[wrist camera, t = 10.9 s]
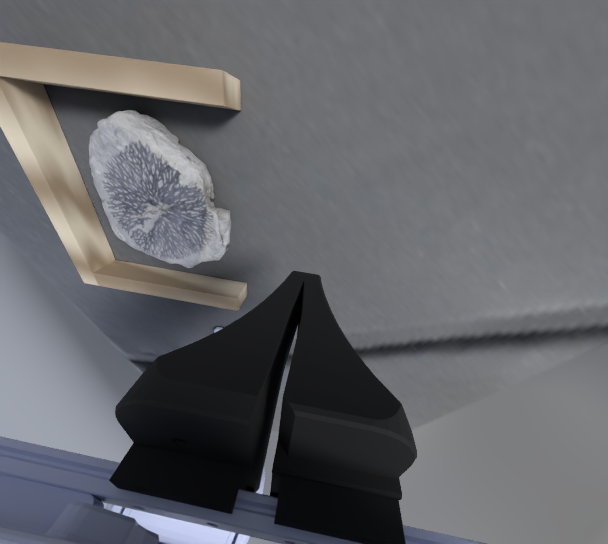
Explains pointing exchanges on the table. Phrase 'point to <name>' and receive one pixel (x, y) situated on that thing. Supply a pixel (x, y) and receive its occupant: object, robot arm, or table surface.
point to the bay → (63, 170)
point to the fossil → (156, 191)
